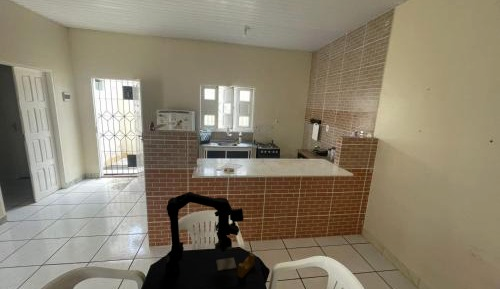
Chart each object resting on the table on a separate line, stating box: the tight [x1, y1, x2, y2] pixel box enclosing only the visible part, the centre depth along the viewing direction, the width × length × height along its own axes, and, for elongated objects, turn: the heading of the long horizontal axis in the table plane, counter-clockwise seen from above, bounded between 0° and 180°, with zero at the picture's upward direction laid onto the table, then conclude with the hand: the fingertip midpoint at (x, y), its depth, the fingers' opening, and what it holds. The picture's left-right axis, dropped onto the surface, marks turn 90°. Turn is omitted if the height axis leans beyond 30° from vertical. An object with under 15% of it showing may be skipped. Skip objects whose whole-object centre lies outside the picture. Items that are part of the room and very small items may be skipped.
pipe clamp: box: [237, 252, 256, 279], centre depth 115 cm, size 12×4×6 cm, turn 146°
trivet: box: [215, 257, 238, 272], centre depth 119 cm, size 10×8×1 cm
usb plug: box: [214, 242, 233, 255], centre depth 117 cm, size 9×4×4 cm, turn 105°
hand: (222, 249), depth 117 cm, fingers closed on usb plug, 4 cm apart
